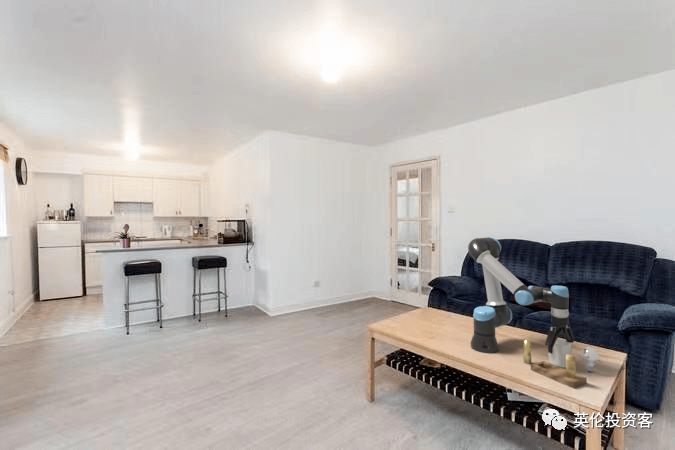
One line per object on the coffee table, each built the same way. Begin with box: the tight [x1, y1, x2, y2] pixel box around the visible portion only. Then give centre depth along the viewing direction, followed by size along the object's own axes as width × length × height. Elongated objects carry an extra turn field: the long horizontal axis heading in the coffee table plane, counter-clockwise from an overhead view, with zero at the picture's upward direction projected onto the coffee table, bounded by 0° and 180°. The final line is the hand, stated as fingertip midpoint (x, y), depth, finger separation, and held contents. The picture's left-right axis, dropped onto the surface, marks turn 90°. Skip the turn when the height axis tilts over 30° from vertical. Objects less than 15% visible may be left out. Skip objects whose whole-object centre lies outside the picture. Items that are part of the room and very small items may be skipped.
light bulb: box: [581, 346, 600, 373], centre depth 161 cm, size 7×7×12 cm
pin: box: [522, 338, 532, 365], centre depth 172 cm, size 4×4×12 cm
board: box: [530, 354, 588, 389], centre depth 157 cm, size 20×10×12 cm, turn 24°
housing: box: [548, 338, 572, 369], centre depth 170 cm, size 7×7×11 cm
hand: (559, 356), depth 170 cm, fingers open, 13 cm apart
